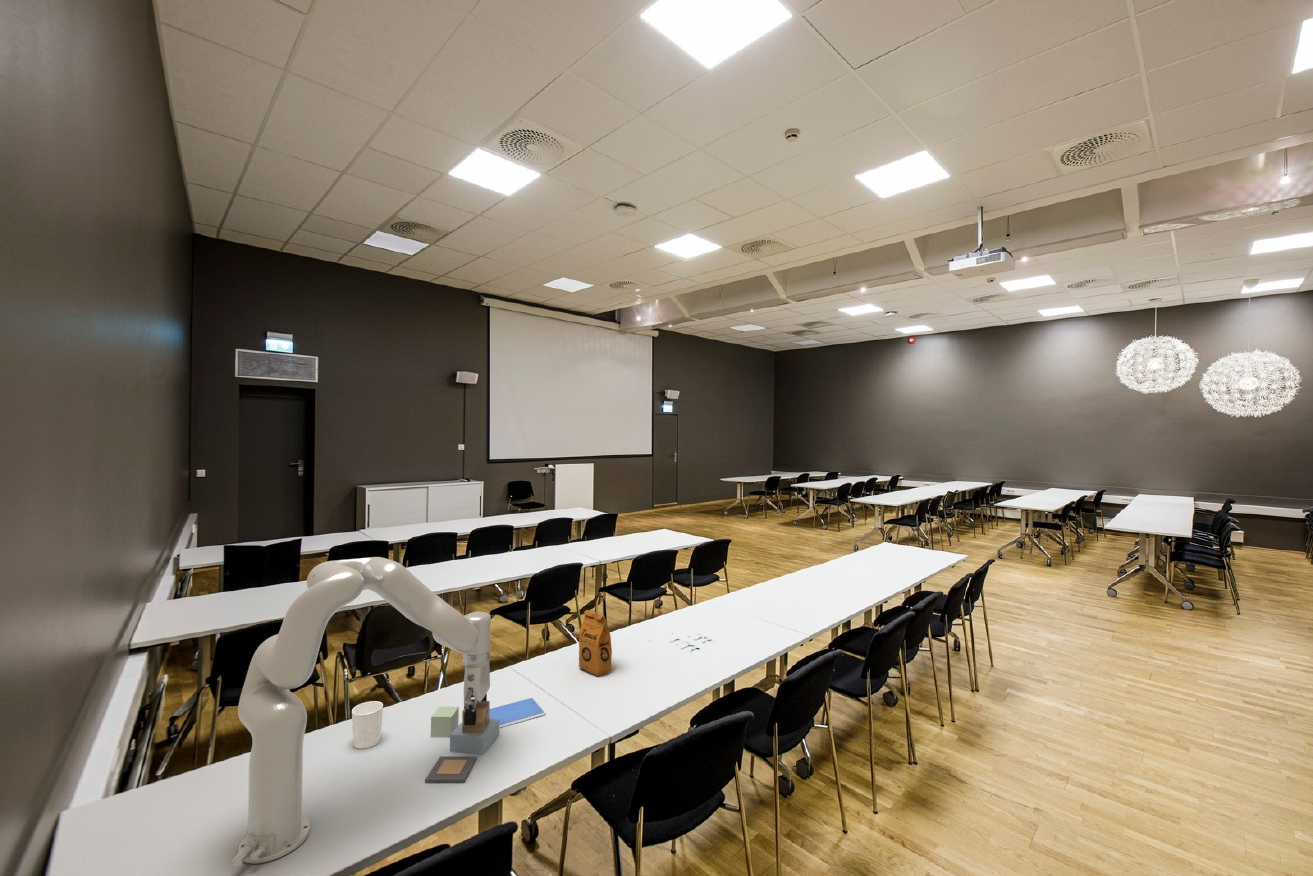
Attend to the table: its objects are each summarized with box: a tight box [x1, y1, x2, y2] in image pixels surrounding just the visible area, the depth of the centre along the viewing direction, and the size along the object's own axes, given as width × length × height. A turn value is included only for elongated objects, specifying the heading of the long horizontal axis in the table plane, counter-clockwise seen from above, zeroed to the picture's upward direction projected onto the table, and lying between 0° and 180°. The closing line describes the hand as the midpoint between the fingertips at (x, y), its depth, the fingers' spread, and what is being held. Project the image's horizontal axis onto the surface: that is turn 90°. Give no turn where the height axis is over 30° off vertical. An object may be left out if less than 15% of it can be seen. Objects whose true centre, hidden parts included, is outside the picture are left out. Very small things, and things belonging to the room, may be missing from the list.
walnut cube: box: [461, 700, 491, 733], centre depth 154 cm, size 6×6×6 cm
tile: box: [424, 755, 478, 784], centre depth 141 cm, size 10×10×1 cm
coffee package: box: [578, 609, 613, 678], centre depth 204 cm, size 10×12×22 cm
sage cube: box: [430, 706, 460, 738], centre depth 160 cm, size 6×6×6 cm
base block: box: [449, 719, 500, 756], centre depth 154 cm, size 10×10×5 cm
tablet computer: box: [489, 697, 546, 729], centre depth 170 cm, size 19×13×1 cm, turn 123°
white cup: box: [351, 700, 384, 750], centre depth 154 cm, size 8×8×10 cm
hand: (475, 715), depth 154 cm, fingers open, 9 cm apart
